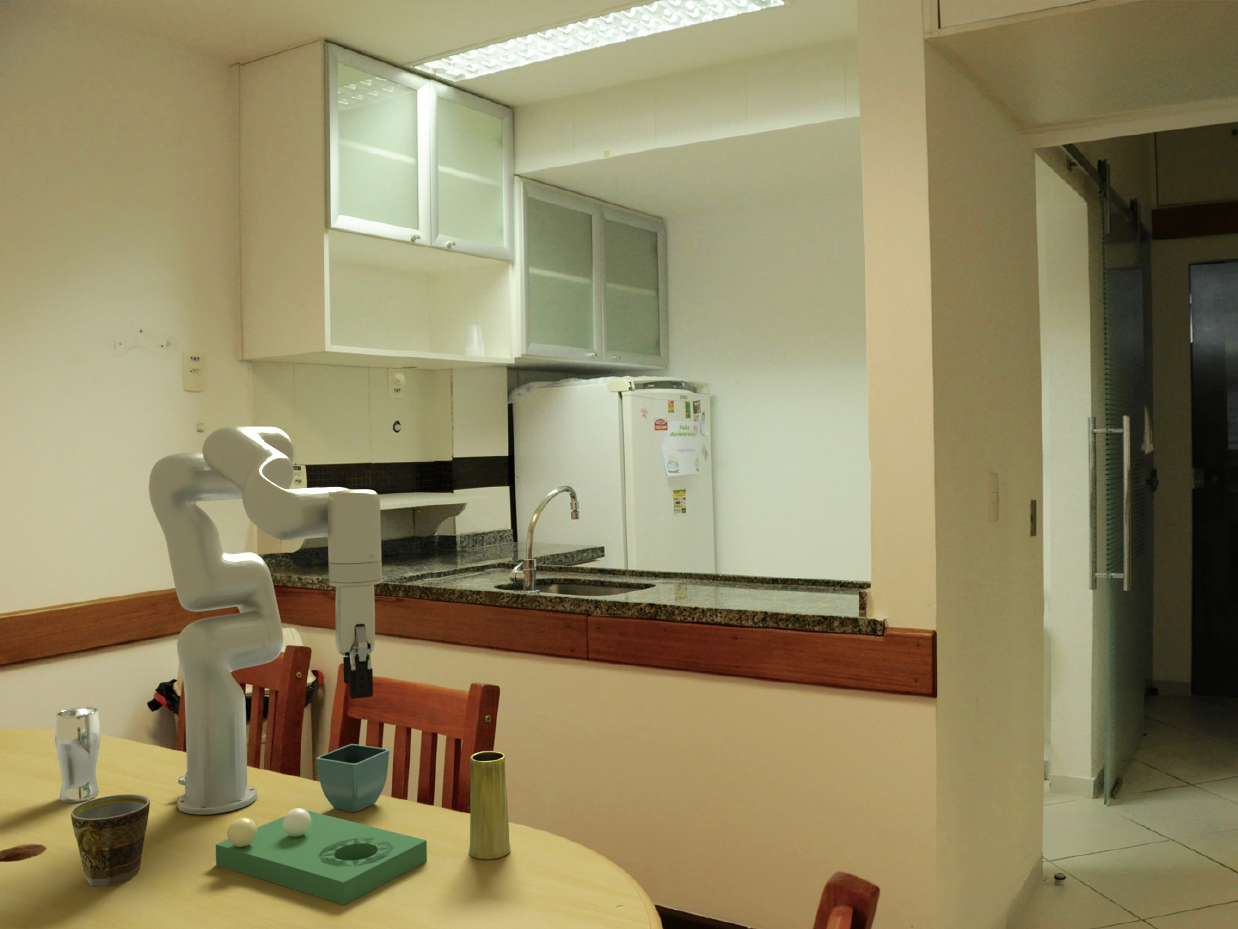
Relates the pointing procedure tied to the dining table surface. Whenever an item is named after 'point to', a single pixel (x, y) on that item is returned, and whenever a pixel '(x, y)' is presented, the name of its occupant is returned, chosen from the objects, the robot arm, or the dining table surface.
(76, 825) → the ceramic cup
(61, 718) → the beer glass
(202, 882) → the dining table surface
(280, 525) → the robot arm
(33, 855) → the dining table surface
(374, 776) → the flower pot
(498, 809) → the vase
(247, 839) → the yellow ball
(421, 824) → the dining table surface
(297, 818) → the white ball
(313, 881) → the putting mat
